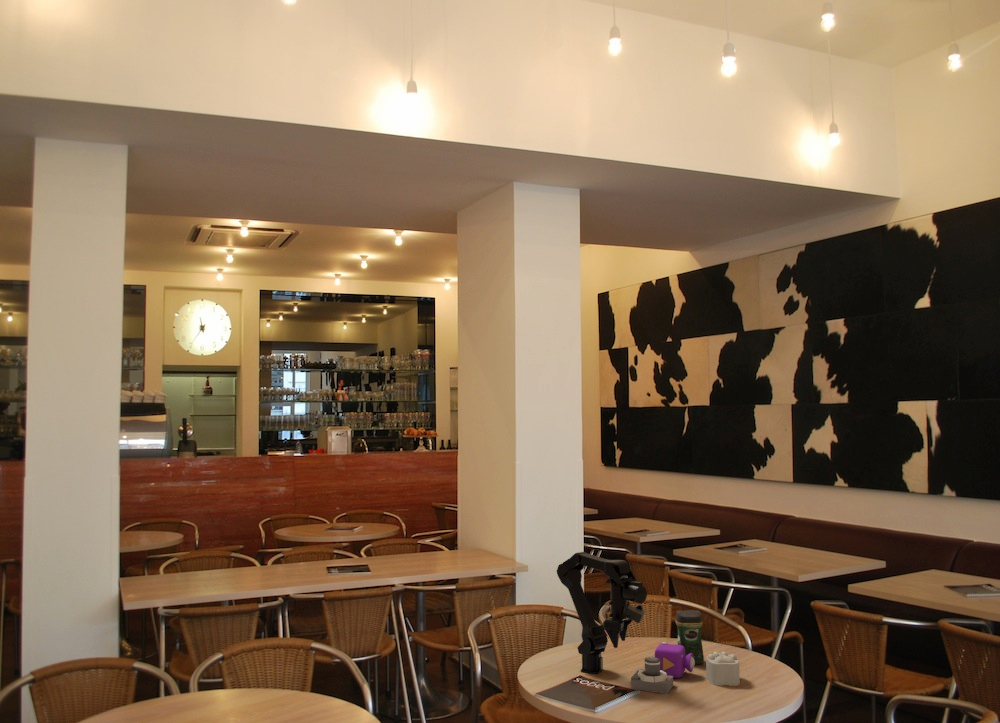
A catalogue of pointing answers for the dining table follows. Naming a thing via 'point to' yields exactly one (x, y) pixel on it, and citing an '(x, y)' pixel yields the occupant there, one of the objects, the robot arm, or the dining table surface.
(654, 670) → the lens
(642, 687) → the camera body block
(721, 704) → the dining table surface
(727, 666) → the lumpy-topped squat cylinder
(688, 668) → the toy camera
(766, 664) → the dining table surface
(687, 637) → the coffee jar
